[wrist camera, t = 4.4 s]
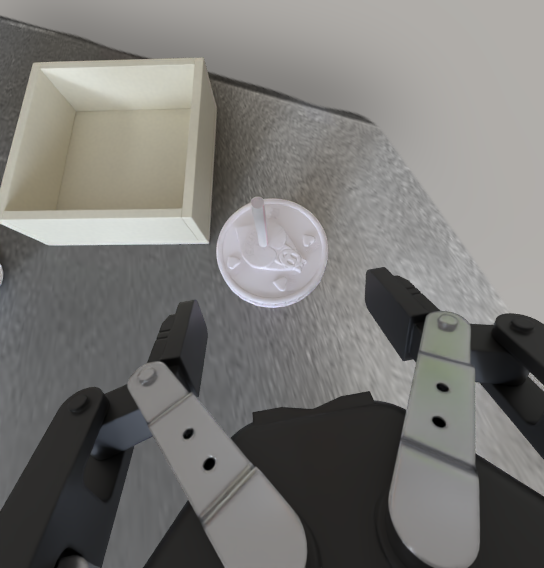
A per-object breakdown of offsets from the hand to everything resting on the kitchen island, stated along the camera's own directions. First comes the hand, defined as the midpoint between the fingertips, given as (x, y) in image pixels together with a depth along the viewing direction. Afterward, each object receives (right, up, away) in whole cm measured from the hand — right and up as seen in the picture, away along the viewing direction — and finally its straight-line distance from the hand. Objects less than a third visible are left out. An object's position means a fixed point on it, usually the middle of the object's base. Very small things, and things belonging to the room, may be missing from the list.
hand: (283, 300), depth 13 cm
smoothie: (0, +1, +12) cm, 12 cm away
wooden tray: (-14, +12, +15) cm, 24 cm away
